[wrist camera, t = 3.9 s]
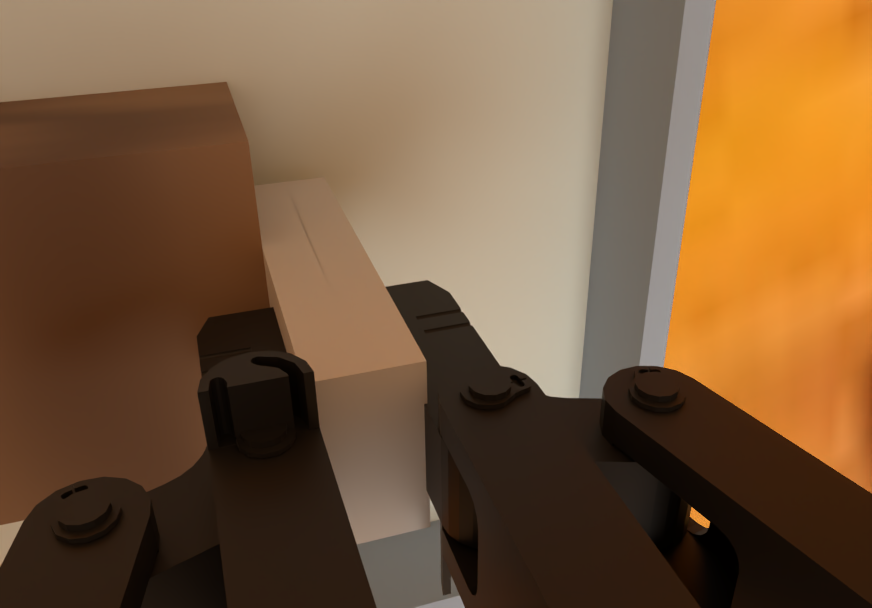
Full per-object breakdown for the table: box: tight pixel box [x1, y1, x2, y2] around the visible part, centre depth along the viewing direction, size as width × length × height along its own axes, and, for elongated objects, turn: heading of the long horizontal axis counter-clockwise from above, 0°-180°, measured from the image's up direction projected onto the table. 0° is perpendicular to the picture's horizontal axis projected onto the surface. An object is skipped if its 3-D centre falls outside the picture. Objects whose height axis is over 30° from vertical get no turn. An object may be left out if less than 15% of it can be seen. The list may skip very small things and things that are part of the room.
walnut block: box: [0, 82, 270, 525], centre depth 14 cm, size 6×6×4 cm
